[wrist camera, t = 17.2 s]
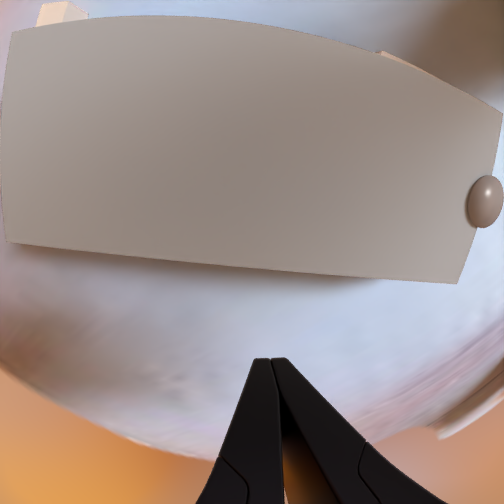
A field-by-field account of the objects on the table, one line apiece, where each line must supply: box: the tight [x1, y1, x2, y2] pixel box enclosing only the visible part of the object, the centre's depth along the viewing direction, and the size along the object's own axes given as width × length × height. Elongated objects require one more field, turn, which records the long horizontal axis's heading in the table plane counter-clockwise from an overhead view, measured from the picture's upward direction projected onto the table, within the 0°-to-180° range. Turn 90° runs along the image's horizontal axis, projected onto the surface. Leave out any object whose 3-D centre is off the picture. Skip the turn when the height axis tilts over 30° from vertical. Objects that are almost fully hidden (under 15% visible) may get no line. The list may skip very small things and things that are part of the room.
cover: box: [0, 16, 504, 284], centre depth 11 cm, size 23×9×1 cm, turn 82°
